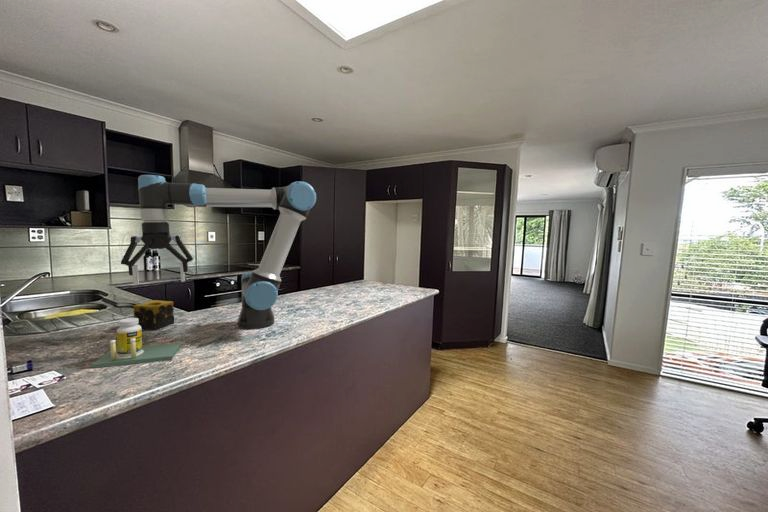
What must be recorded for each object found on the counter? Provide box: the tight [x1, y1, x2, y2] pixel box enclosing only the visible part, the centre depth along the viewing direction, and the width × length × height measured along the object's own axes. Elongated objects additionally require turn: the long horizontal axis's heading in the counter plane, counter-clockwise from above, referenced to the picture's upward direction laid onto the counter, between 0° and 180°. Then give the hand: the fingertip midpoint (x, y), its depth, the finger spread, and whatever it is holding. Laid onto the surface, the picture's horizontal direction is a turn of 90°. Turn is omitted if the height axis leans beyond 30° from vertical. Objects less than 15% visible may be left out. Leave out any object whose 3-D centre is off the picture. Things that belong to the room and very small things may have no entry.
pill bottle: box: [116, 317, 143, 356], centre depth 99 cm, size 6×6×11 cm
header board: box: [91, 338, 183, 369], centre depth 100 cm, size 20×12×7 cm, turn 111°
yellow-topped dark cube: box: [132, 299, 175, 331], centre depth 129 cm, size 10×10×10 cm
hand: (160, 283), depth 107 cm, fingers open, 13 cm apart
